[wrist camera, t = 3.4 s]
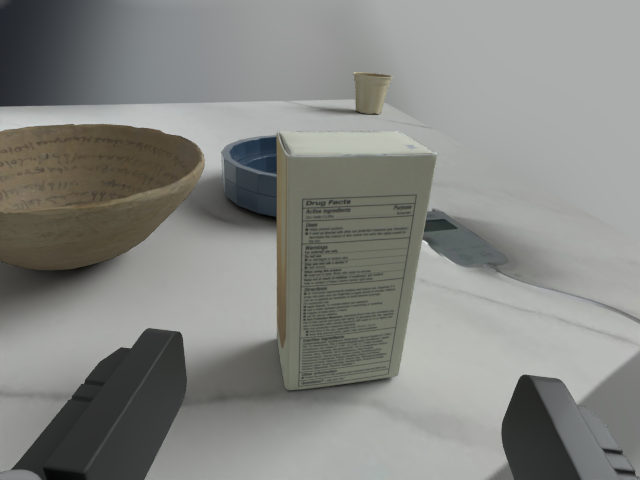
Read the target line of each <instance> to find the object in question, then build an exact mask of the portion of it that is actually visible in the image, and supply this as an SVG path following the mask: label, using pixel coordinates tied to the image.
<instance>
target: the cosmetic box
mask: <svg viewBox="0 0 640 480" xmlns="http://www.w3.org/2000/svg"><path fill="white" fill-rule="evenodd" d="M436 159H437V153H435V152H434V151H432V150H430V149H428V148H427V147H425V146H423V145H422V144H420V143H418V142H417V141H415V140H413V139H411V138H410V137H408V136H406V135H404V134H402V133H401V132H399V131H277V340H278V349H279V356H280V363H281V369H282V374H283V380H284V385H285V388H286V389H287V390H299V389H309V388H317V387H325V386H333V385H340V384H347V383H355V382H361V381H368V380H375V379H381V378H387V377H394V376H397V375H398V373H399V368H400V362H401V357H402V351H403V345H404V339H405V334H406V328H407V323H408V317H409V311H410V305H411V300H412V294H413V289H414V283H415V277H416V271H417V266H418V260H419V255H420V249H421V243H422V237H423V231H424V226H425V220H426V215H427V209H428V203H429V198H430V192H431V186H432V181H433V175H434V169H435V164H436Z"/></svg>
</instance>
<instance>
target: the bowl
mask: <svg viewBox="0 0 640 480" xmlns="http://www.w3.org/2000/svg"><path fill="white" fill-rule="evenodd" d="M204 165H205V159H204V155H203V153H202V151H201V150H200V148H199V147H198V146H197V145H196V144H195V143H193V142H191V141H190V140H188V139H185V138H183V137H181V136H177V135H169V134H165V133H163V132H162V131H160V130H155V129H150V128H135V127H132V126H124V125H111V124H82V125H74V124H67V125H52V126H34V127H25V128H20V129H11V130H4V131H1V132H0V261H2V262H5V263H7V264H10V265H14V266H18V267H22V268H27V269H35V270H67V269H74V268H79V267H83V266H88V265H92V264H95V263H99V262H102V261H106V260H109V259H112V258H115V257H117V256H119V255H121V254H123V253H125V252H127V251H128V250H130V249H131V248H133V247H135V246H136V245H138V244H139V243H141V242H142V241H144V240H145V239H146V238H147V237H148V236H149V235H150V234H151V233H152V232H153V231H154V230H155V229H156V228H157V227H158V226H159V225H160V224H161V223H162V222H163V221H164V220H165V219H166V218H167V217H168V216H169V215H170V214H171V213H172V212H173V211H174V210H175V209H176V208H177V207H178V206H179V205H180V204H181V203H182V202H183V201H184V200H185V199H186V198H187V197H188V195H189V194H190V193H191V191H192V190H193V189H194V187H195V186H196V184H197V182H198V180H199V178H200V177H201V174H202V172H203V169H204Z"/></svg>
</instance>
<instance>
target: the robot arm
mask: <svg viewBox="0 0 640 480" xmlns="http://www.w3.org/2000/svg"><path fill="white" fill-rule="evenodd" d="M186 383H187V377H186V367H185V357H184V347H183V338H182V334H181V333H180V332H177V331H168V330H160V329H152V328H148V329H146V330H145V331H144V332H143V333H142V335H141V336H140V337H139V339H138V340H137V341H136V343H135V344H134V345H133V347H132V348H131V349H130V348H122V347H121V348H120V349H118V350H117V351H115V352H114V353H112V354H111V355H109V356H108V357H106V358H105V359H103V360H102V361H100V362H99V364H98V365H97V366H96V367H95V369H94V370H93V371H92V372H91V373H90V375H89V376H88V377H87V378H86V380H85V383H84V384H81V386H80V387H79V388H78V389H77V391H76V392H75V393H74V394H73V396H72V399H71V400H68V402H67V403H66V404H65V405H64V407H63V408H62V409H61V410H60V411H59V413H58V414H57V415H56V416H55V418H54V419H53V420H52V421H51V422H50V424H49V425H48V426H47V427H46V429H45V430H44V431H43V432H42V434H41V435H40V436H39V437H38V438H37V440H36V441H35V442H34V443H33V445H32V446H31V447H30V448H29V449H28V451H27V452H26V453H25V454H24V456H23V457H22V458H21V459H20V461H19V462H18V463H17V464H16V465H15V466H14V467H13V468H12V469H11V470H9V471H4V472H1V473H0V480H144V479H145V477H146V475H147V473H148V471H149V469H150V467H151V465H152V463H153V461H154V459H155V457H156V455H157V453H158V451H159V449H160V447H161V445H162V443H163V441H164V439H165V437H166V435H167V433H168V431H169V428H170V426H171V424H172V422H173V420H174V418H175V416H176V414H177V412H178V410H179V408H180V406H181V404H182V402H183V399H184V395H185V391H186ZM502 443H503V448H504V451H505V454H506V457H507V460H508V463H509V466H510V468H511V471H512V474H513V477H514V480H640V478H639V477H637V476H636V475H635V470H634V468H633V467H632V465H631V464H630V462H629V460H628V459H627V457H626V456H623V454H622V449H621V448H620V446H619V445H618V443H617V441H616V440H615V438H614V437H613V435H612V433H611V432H610V430H609V429H608V427H607V426H606V425H605V424H603V423H602V422H601V421H600V420H599V419H598V418H597V417H596V416H595V415H594V414H593V413H592V412H591V411H590V410H589V409H588V408H587V407H586V406H580V405H577V404H576V403H575V401H574V399H573V398H572V396H571V394H570V392H569V391H568V389H567V387H566V386H565V384H564V383H563V382H562V381H561V380H560V379H556V378H548V377H539V376H531V375H522V376H521V377H520V379H519V380H518V383H517V385H516V388H515V391H514V393H513V396H512V398H511V401H510V403H509V406H508V409H507V411H506V414H505V416H504V419H503V423H502Z"/></svg>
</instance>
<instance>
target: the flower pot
mask: <svg viewBox="0 0 640 480" xmlns="http://www.w3.org/2000/svg"><path fill="white" fill-rule="evenodd" d="M353 74H354V78H355V79H354V80H355V85H356V86H355V88H356V111H359V112H360V113H366V114H373V113H375V114H380V113H381V111H382V107H383V103H384V100H385V96H386V92H387V89H388V85H389V84H390V81H391V78H393V76H390V75H384V74H376V73H364V72H362V73H361V72H355V73H353Z"/></svg>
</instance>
